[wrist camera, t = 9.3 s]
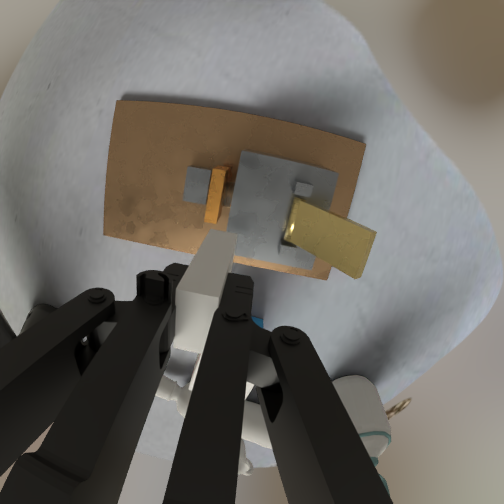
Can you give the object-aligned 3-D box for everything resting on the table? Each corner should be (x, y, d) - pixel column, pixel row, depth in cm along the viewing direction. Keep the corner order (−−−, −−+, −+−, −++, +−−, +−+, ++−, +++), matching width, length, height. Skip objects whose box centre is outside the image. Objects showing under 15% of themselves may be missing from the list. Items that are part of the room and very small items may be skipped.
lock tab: (289, 237, 30) (281, 238, 29) (299, 196, 28) (291, 196, 27) (360, 278, 24) (353, 280, 23) (377, 230, 22) (371, 231, 21)
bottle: (310, 414, 50) (168, 360, 47) (298, 455, 45) (148, 405, 41) (289, 414, 57) (164, 366, 54) (278, 450, 52) (148, 404, 49)
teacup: (237, 451, 62) (234, 482, 53) (191, 429, 59) (184, 462, 49) (270, 437, 59) (270, 471, 49) (223, 413, 55) (218, 450, 46)
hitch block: (107, 232, 40) (67, 261, 30) (120, 101, 33) (76, 93, 23) (325, 276, 42) (343, 319, 32) (363, 143, 34) (399, 147, 24)
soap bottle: (362, 359, 48) (410, 507, 19) (379, 390, 52) (419, 514, 23) (304, 386, 51) (321, 535, 22) (328, 413, 55) (348, 537, 26)
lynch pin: (210, 212, 35) (203, 221, 31) (218, 165, 33) (213, 168, 29) (315, 234, 36) (321, 245, 32) (327, 188, 34) (335, 195, 30)
